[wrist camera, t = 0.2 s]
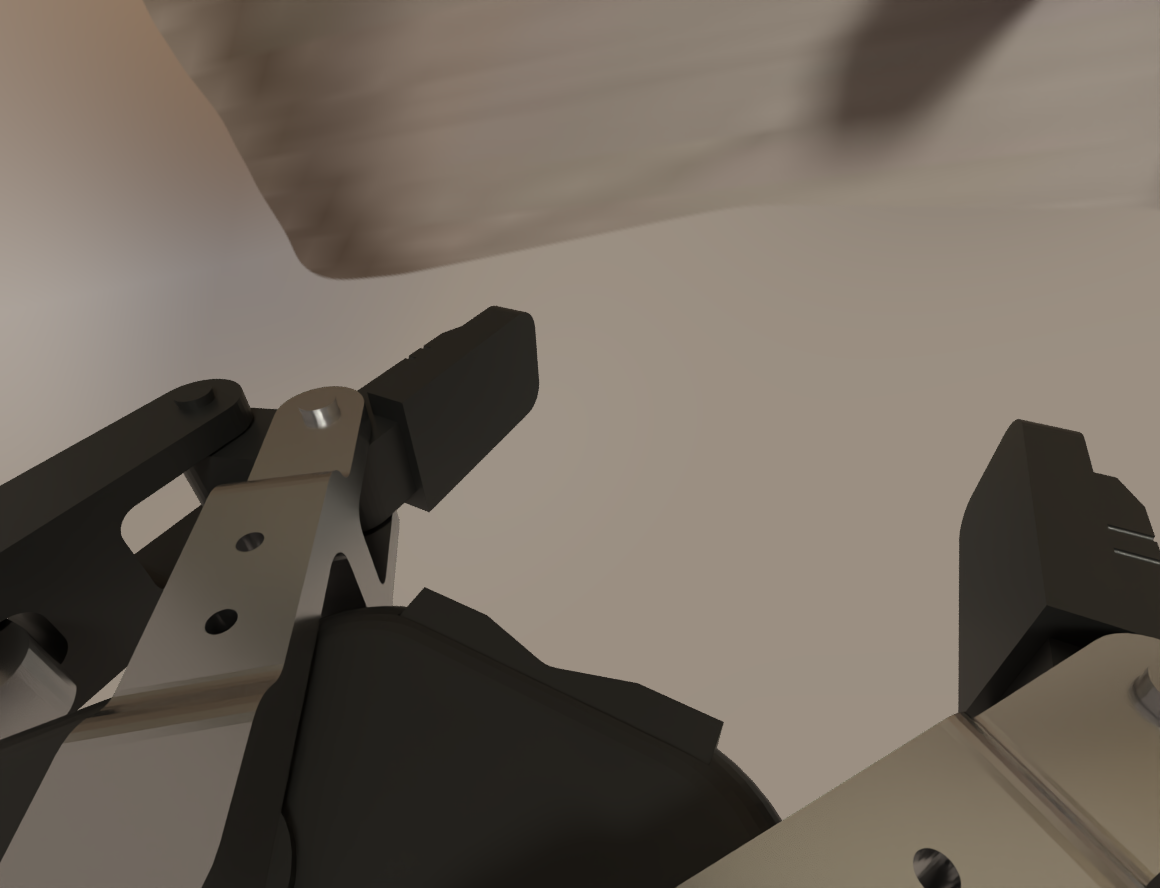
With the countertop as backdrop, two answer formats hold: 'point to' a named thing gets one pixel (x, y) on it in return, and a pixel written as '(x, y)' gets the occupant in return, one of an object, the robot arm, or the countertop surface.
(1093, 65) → the countertop surface
